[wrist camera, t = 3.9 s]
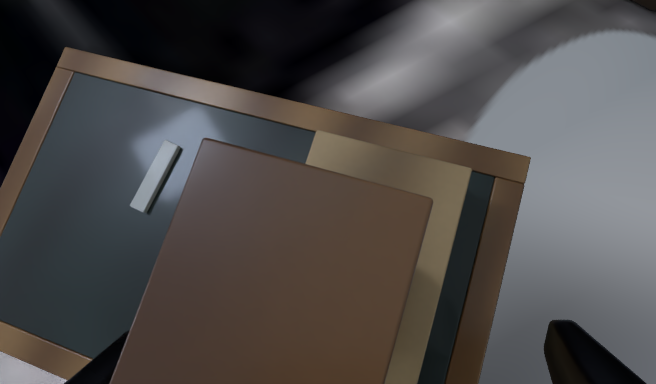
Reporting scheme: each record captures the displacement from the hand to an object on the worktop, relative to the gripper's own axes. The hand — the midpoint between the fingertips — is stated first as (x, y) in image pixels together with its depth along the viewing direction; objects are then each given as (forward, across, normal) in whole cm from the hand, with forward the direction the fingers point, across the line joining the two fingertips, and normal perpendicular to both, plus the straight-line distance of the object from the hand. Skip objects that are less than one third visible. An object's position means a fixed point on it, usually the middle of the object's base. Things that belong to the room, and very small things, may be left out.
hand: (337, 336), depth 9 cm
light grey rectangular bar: (+10, +9, +1) cm, 14 cm away
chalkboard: (+9, +6, +4) cm, 12 cm away
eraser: (+6, 0, +5) cm, 8 cm away
